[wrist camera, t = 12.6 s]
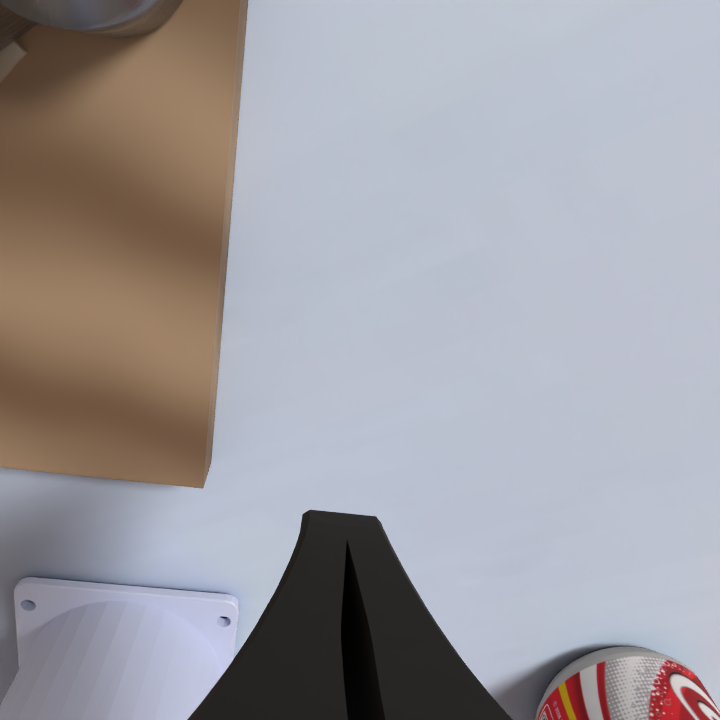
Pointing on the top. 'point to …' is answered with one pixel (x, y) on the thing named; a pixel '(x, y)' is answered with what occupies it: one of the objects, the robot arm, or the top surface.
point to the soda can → (626, 689)
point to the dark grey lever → (84, 16)
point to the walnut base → (117, 244)
